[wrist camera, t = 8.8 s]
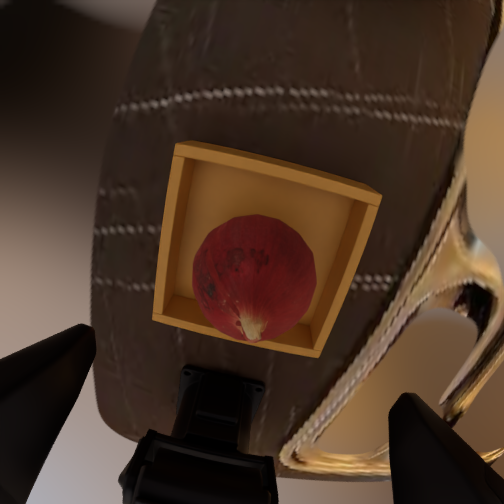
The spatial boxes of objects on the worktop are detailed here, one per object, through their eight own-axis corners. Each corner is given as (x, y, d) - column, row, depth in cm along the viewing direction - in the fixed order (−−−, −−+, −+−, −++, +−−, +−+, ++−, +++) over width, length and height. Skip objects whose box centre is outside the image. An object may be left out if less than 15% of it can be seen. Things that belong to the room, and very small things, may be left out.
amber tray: (314, 330, 21) (318, 358, 18) (166, 295, 21) (152, 320, 18) (366, 184, 17) (383, 195, 14) (190, 139, 17) (175, 142, 14)
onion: (191, 261, 19) (145, 343, 12) (240, 179, 17) (214, 221, 10) (272, 307, 20) (270, 404, 13) (327, 234, 18) (361, 310, 10)
